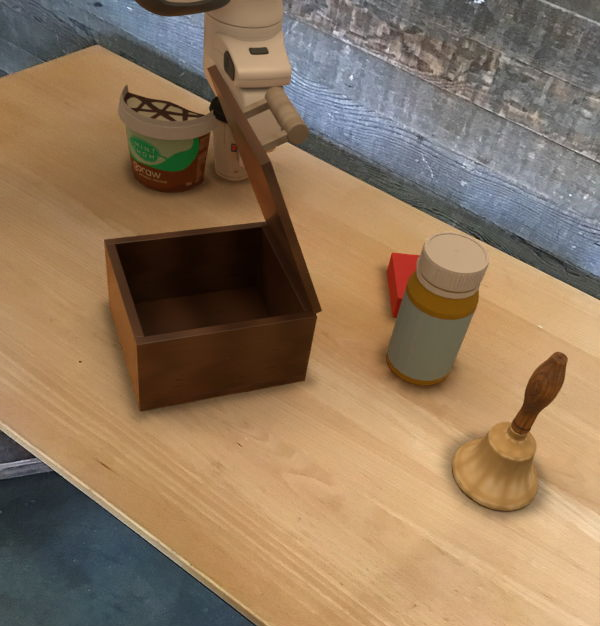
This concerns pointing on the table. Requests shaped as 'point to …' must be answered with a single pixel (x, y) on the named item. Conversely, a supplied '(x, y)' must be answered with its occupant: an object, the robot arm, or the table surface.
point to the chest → (207, 313)
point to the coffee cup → (225, 146)
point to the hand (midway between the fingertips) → (234, 145)
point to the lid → (269, 168)
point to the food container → (165, 142)
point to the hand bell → (510, 447)
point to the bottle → (437, 308)
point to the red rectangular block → (399, 277)
